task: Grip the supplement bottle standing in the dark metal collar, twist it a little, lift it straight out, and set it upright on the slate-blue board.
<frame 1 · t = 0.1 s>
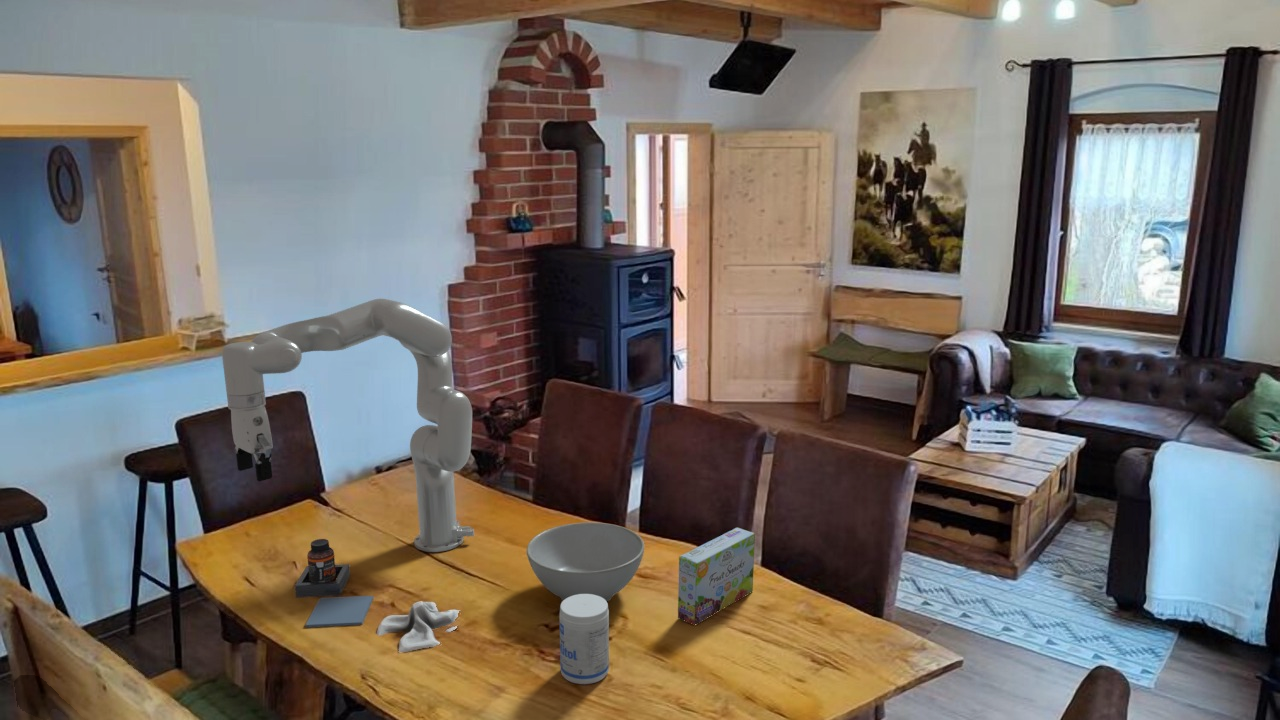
hand: (255, 474, 200), 31 cm above the table, tool pointing down, fingers open, 9 cm apart
snack box: (716, 606, 204), on the table
board: (340, 612, 203), on the table
cloth: (427, 627, 198), on the table
supplement bottle: (323, 587, 215), resting in collar
decorative bowl: (587, 595, 210), on the table
collar: (323, 586, 215), on the table
supplement tub: (585, 673, 179), on the table
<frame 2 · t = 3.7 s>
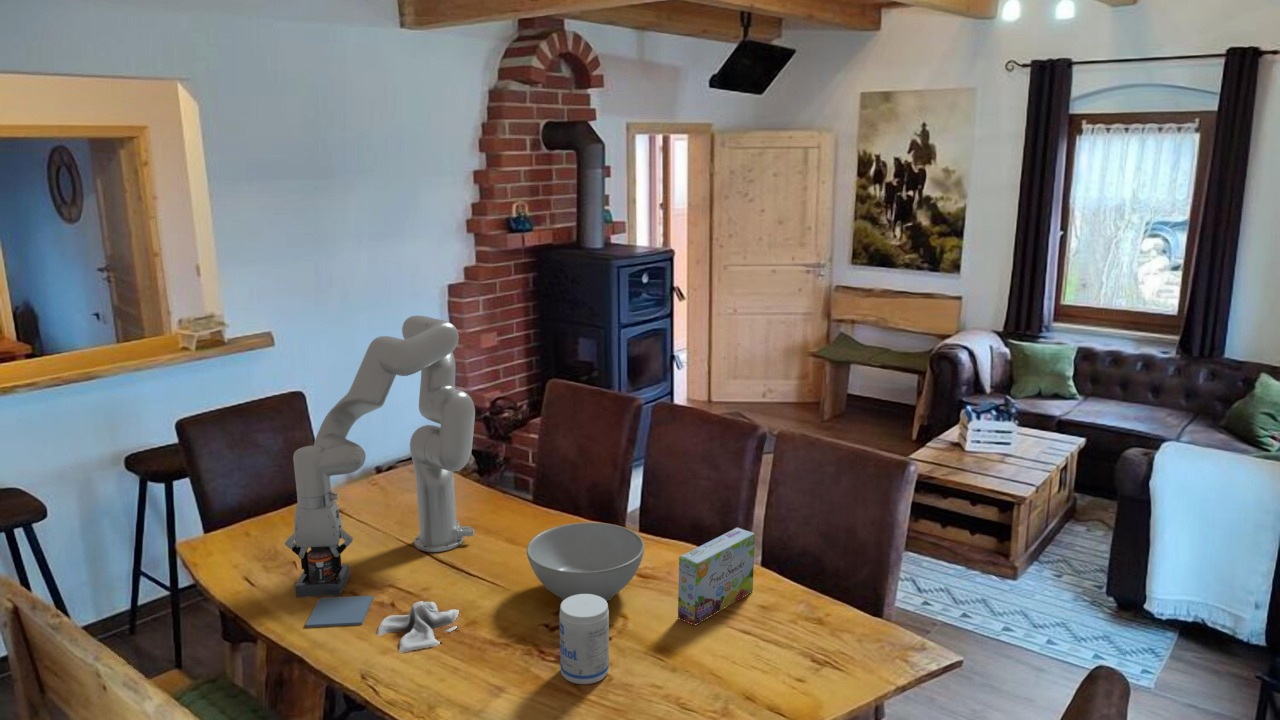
hand: (322, 570, 214), 4 cm above the table, tool pointing down, fingers closed on supplement bottle, 6 cm apart
supplement bottle: (323, 587, 215), resting in collar, touching gripper
everything else where it was.
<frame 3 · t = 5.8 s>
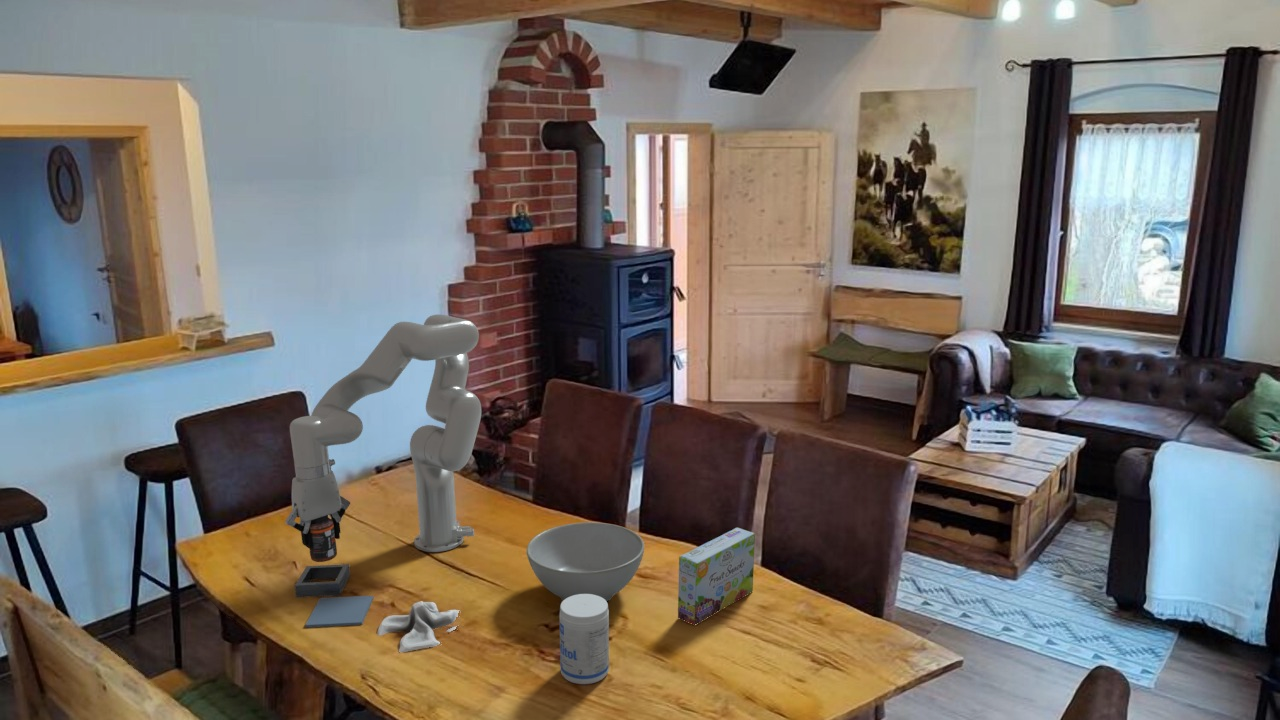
hand: (322, 541, 213), 11 cm above the table, tool pointing down, fingers closed on supplement bottle, 6 cm apart
supplement bottle: (324, 558, 214), point 7 cm above the table, touching gripper
everything else where it was.
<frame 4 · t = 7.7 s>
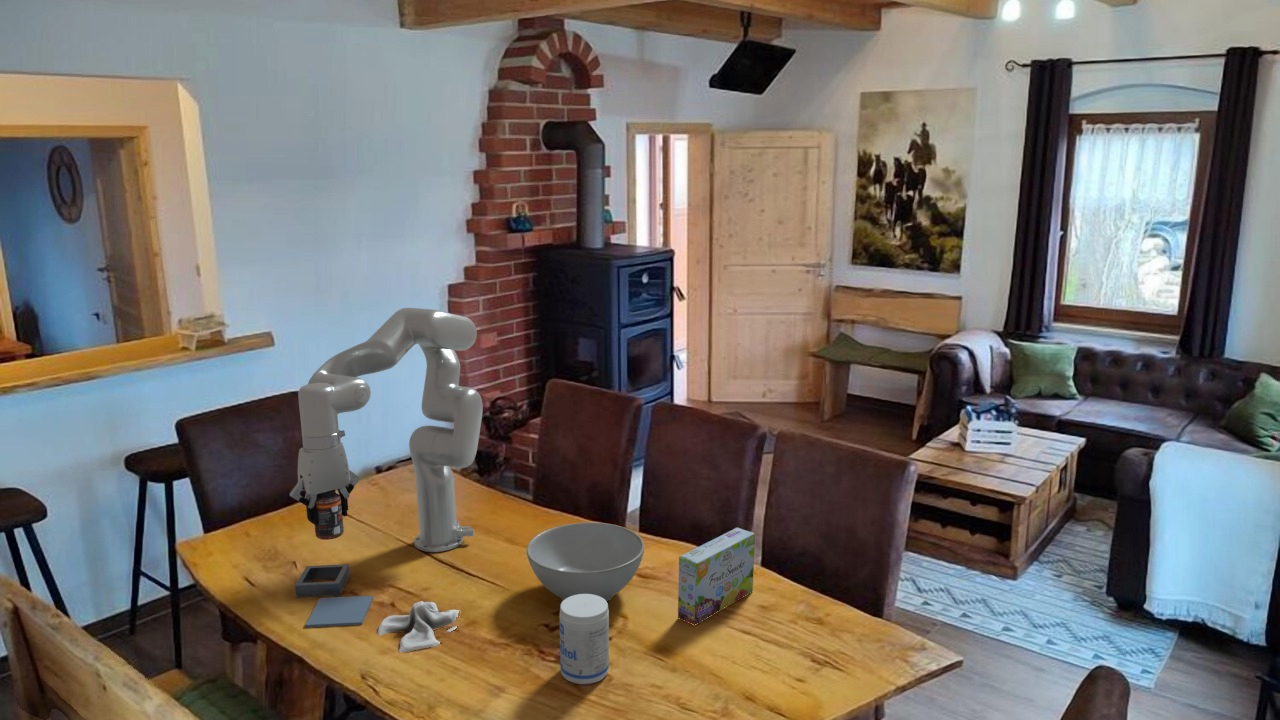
hand: (328, 518, 200), 22 cm above the table, tool pointing down, fingers closed on supplement bottle, 6 cm apart
supplement bottle: (330, 536, 201), point 17 cm above the table, touching gripper
everything else where it was.
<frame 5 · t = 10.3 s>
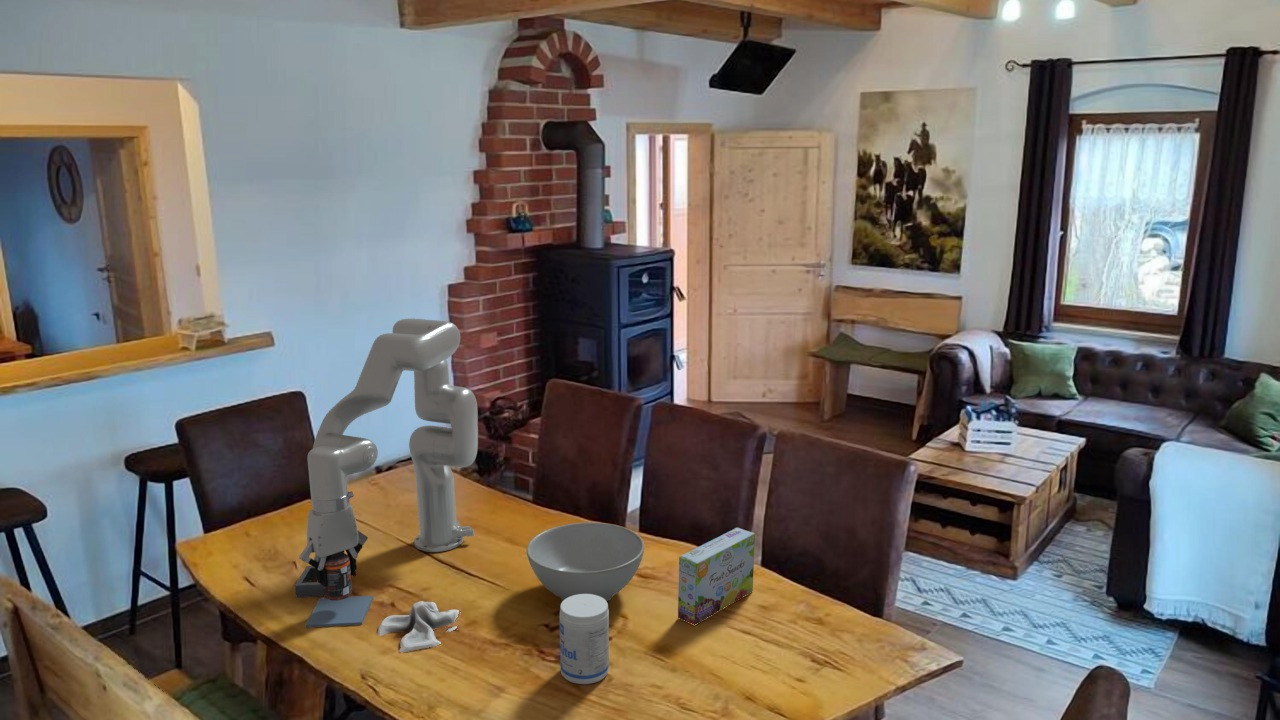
hand: (337, 578, 201), 8 cm above the table, tool pointing down, fingers closed on supplement bottle, 6 cm apart
supplement bottle: (338, 596, 202), point 4 cm above the table, touching gripper
everything else where it was.
when the fingers open (6 cm above the table, at t = 11.8 s): supplement bottle drops 1 cm, resting on board.
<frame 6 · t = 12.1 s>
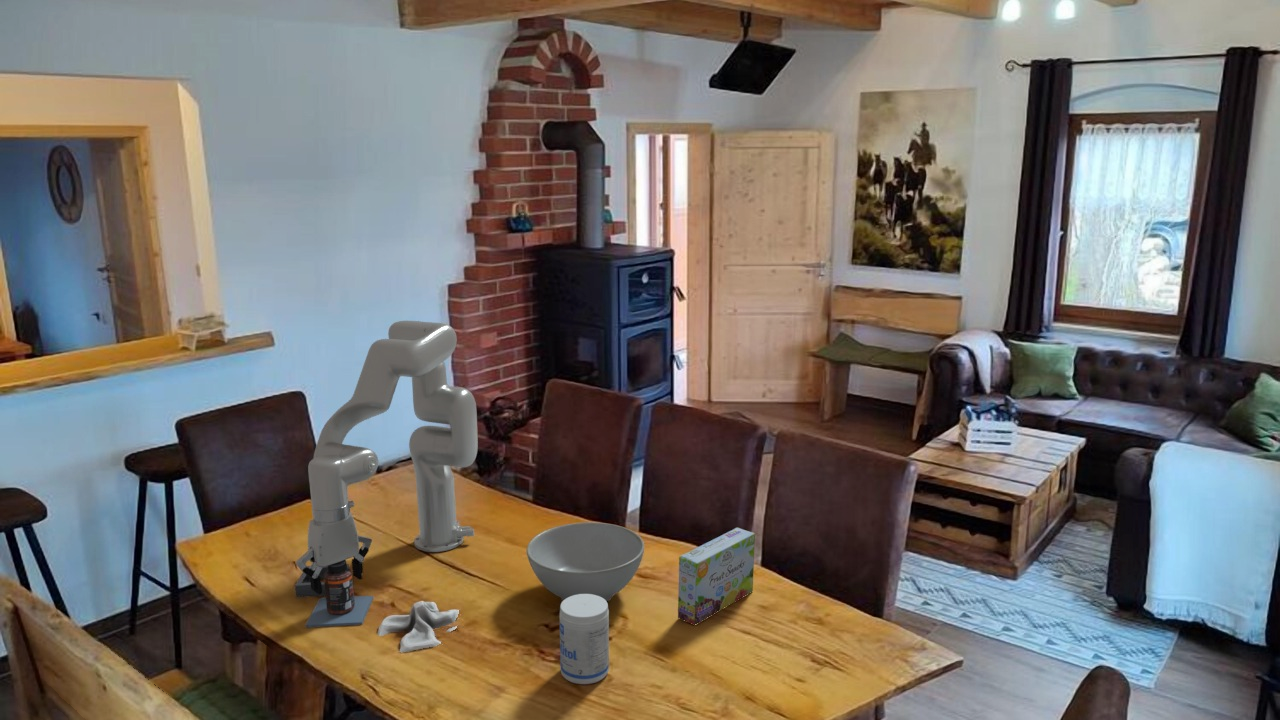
hand: (337, 584, 201), 7 cm above the table, tool pointing down, fingers open, 9 cm apart
supplement bottle: (341, 610, 203), resting on board
everything else where it was.
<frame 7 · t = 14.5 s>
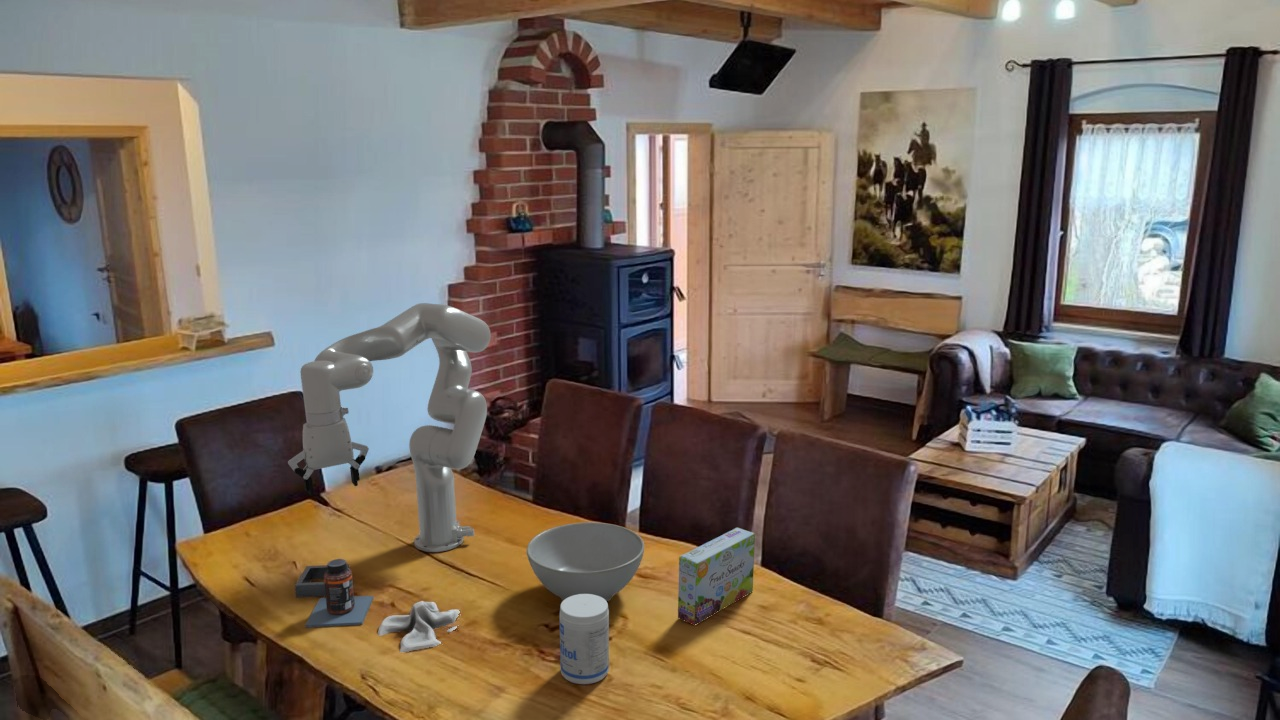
hand: (333, 488, 205), 26 cm above the table, tool pointing down, fingers open, 9 cm apart
nothing on the table moved.
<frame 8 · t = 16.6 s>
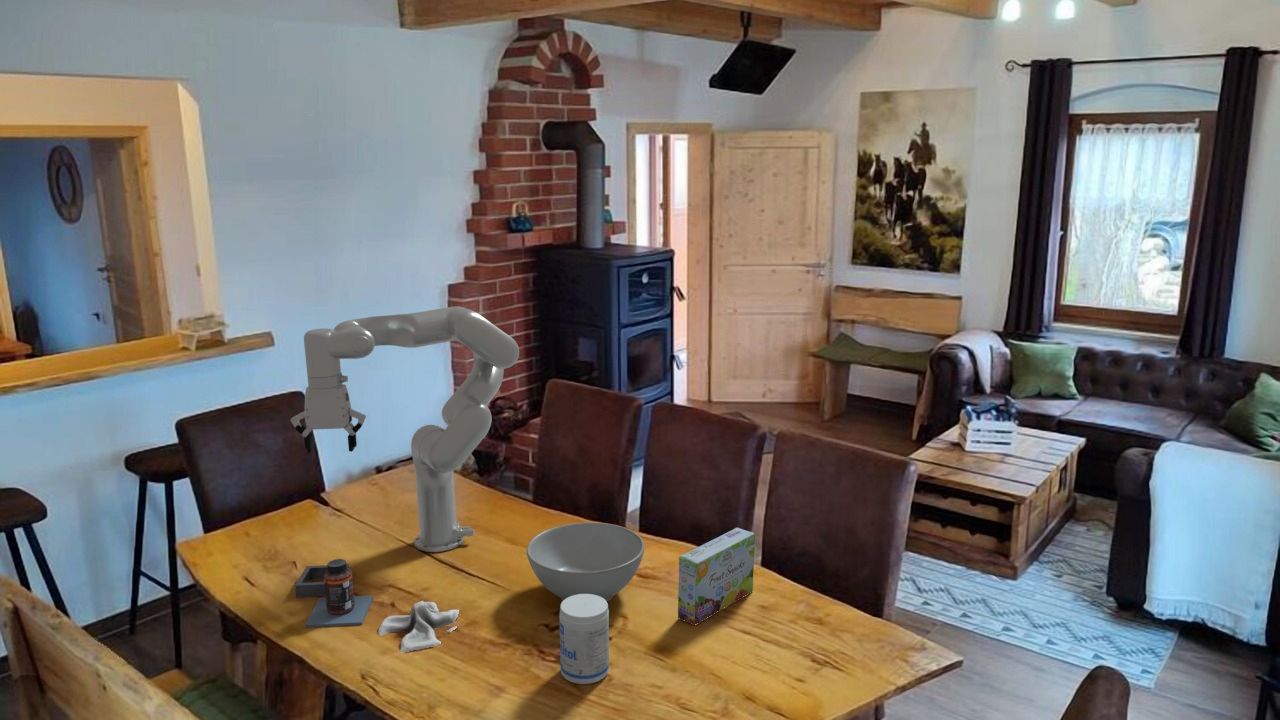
hand: (331, 450, 218), 30 cm above the table, tool pointing down, fingers open, 9 cm apart
nothing on the table moved.
at the end: supplement bottle inside the target area on the board (0.3 cm from its centre), point 0.4 cm above the board's base; supplement bottle tilted 0°; the gripper is holding nothing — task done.
